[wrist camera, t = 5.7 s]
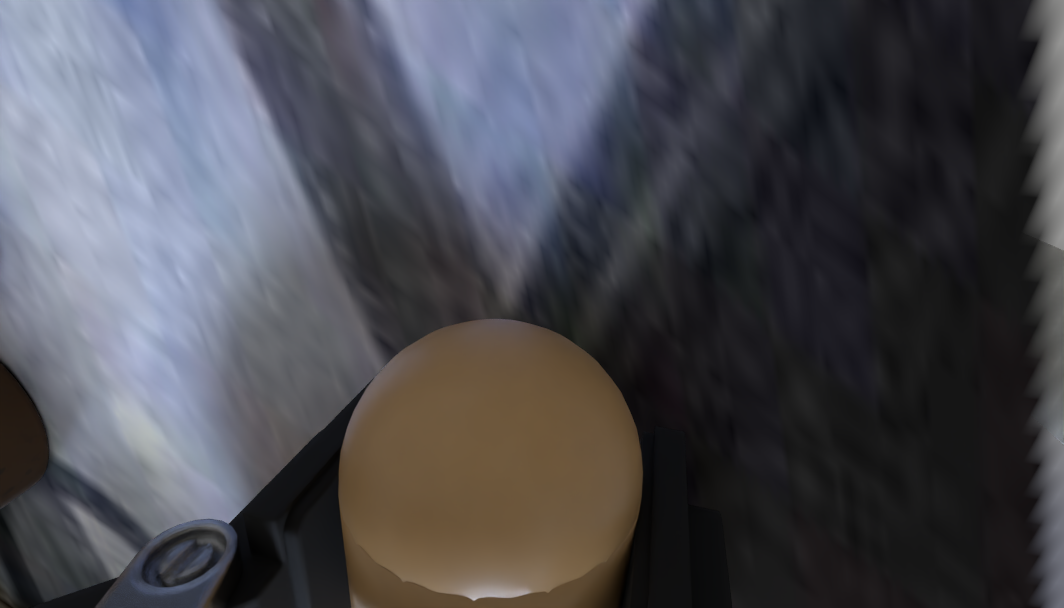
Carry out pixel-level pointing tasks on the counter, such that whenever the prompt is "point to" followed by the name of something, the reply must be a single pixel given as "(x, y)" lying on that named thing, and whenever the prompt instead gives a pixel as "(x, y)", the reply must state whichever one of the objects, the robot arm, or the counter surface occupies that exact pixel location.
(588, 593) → the potato
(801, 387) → the counter surface
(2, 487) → the olive oil
